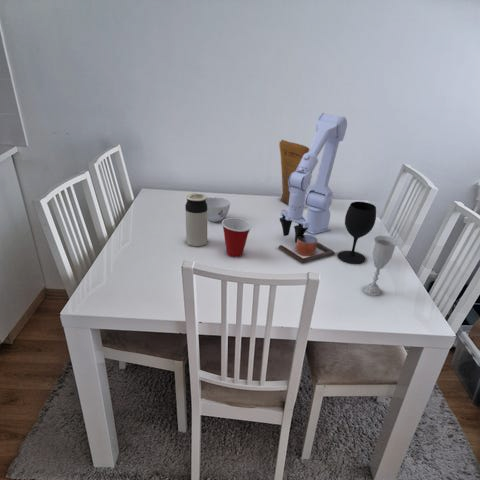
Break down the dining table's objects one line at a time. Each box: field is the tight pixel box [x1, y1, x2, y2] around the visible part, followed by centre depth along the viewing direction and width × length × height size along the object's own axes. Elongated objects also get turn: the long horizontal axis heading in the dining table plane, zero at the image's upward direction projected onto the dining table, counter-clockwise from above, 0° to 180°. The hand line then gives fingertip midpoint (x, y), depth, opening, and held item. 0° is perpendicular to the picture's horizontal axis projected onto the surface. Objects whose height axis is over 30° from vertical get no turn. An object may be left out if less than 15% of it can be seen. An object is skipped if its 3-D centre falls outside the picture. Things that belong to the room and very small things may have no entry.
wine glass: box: [337, 201, 377, 265], centre depth 150 cm, size 10×10×20 cm
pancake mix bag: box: [278, 139, 310, 205], centre depth 193 cm, size 7×19×28 cm, turn 30°
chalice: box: [363, 235, 399, 296], centre depth 131 cm, size 7×7×18 cm
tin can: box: [295, 234, 318, 257], centre depth 157 cm, size 8×8×5 cm
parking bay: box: [278, 241, 336, 265], centre depth 158 cm, size 16×14×1 cm
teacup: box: [206, 196, 231, 223], centre depth 178 cm, size 15×12×8 cm
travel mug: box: [185, 192, 208, 247], centre depth 155 cm, size 8×8×18 cm
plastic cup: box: [221, 217, 253, 258], centre depth 151 cm, size 11×11×12 cm
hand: (291, 238), depth 164 cm, fingers open, 7 cm apart
